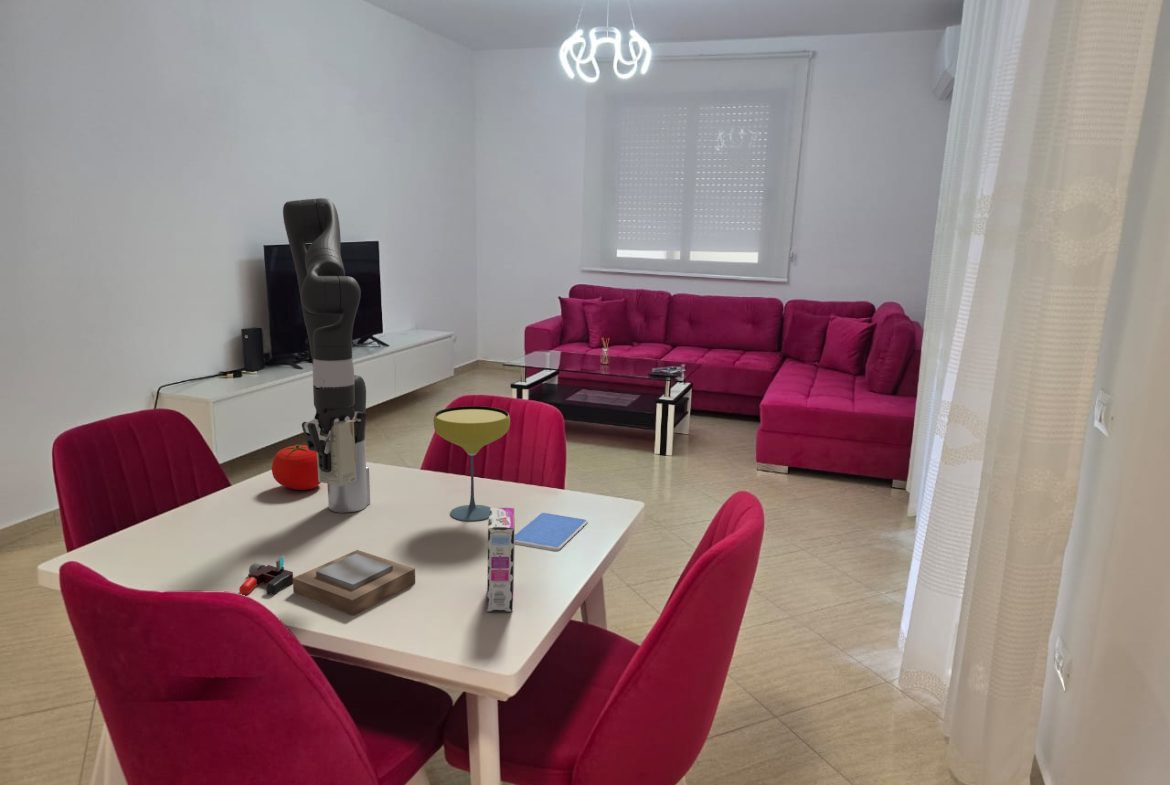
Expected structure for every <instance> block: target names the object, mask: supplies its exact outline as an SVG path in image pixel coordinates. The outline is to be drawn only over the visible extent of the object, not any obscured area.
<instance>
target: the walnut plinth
mask: <svg viewBox="0 0 1170 785" xmlns="http://www.w3.org/2000/svg"><path fill="white" fill-rule="evenodd" d="M414 584H416V568H414V567H411V566H409V565H406V564H403V563H399V562H396V561H393V560H390V559H386V558H383V557H381V556H378V555H375V554H371V553H367V552H365V551H362V550H359V549H356V550H353V551H351V552H349V553H346V554H344V555H342V556H340V557H337V558H335V559H332V560H331V561H328V562H326V563H324V564H321V565H319V566H317V567H315V568H313V569H310V570H308V571H306V572H305V571H304V572H303V573H301V574H299V575H297V576H293V584H292V587H293V588H292V589H293V590H292V591H293V594H295V595H299V596H301V597H304V598H306V599H308V600H312V601H314V602H317V603H319V604H322V605H324V606H328V607H329V608H332V609H335V610H338V611H341V612H343V613H345V614H348V615H350V616H355V615H357V614H359V613H361V612H363V611H365V610H366V609H368V608H370V607H372V606H374V605H376V604H378V603H379V602H382V601H384V600H385V599H387V598H389V597H391V596H393V595H395V594H396V593H398V592H401V591H403V590H405V589H406V588H408V587H410V586H412V585H414Z"/></svg>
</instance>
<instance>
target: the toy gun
mask: <svg viewBox="0 0 1170 785" xmlns="http://www.w3.org/2000/svg"><path fill="white" fill-rule="evenodd" d="M275 565H276V566H274V565H270V564H268V565H265V564H261V563H257V562H254V563H251V565H250V566H249V570H248V576H247V577H248V578H246V580H245V581H244V582H242V583H241V585H240V586H239V589H238V590H239V593H240V595H243V594H244V595H249V593H251V592H252V591H253V590H254V588H256V586H260V585H262V584H265V585H266V592H267V594H269V595H272V596H273V595H276V594H277V593H279V592H280V591H281V590H283V589H284V588H286V587H288V586H290V585H293V578H294V572H293V571H291V570H287V569H285V567H284V565H285V564H284V555H280V556H279V557H278V558H277V560H276V561H275Z"/></svg>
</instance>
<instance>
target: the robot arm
mask: <svg viewBox="0 0 1170 785" xmlns="http://www.w3.org/2000/svg"><path fill="white" fill-rule="evenodd" d="M282 216H283V224H284V227H285V232H286V236H287V240H288V244H289V248H290V251H291V255H292V260H293V264H294V268H295V272H296V279H297V285H298V290H299V296H300V303H301V309H302V313H303V314H302V315H303V320H304V324H305V328H306V332H307V338H308V342H309V348H310V353H311V354H310V355H311V361H312V387H313V388H312V389H313V390H312V391H313V392H312V393H313V394H312V396H313V406H314V408H315V415H314V418H313V419H312V420H310V421H303V422H302V423H301V429H302V432H303V436H304V438H305V442H306V446H308V449H309V450H310V451H315V452H318V459H319V468H320V469H321V471H323V472H326V473H327V472H330V471H331V453H329V452H330V447H331V443H332V442H333V440H334V438H333V427H334V424H336V423H339V421H350V420H352V421H354V438H355V458H356V478H357V480H356V481H354V482H351V483H348V484H346V485H343V486H339V485H333V484H327V501H328V510H330V511H332V512H335V513H343V514H344V513H353V512H358V511H359V512H360V511H361V510H364V509H365V508H367V506H368V505H370V504H371V485H370V484H371V483H370V482H371V481H370V479H371V478H370V467H369V466H367V461H366V460H367V456H366V455H367V454H366V426H367V425H366V424H367V412H366V411H367V410H366V409H367V408H366V407H367V387H366V382H365V380H364V379H363V377H362V376H360V375H357V374H355V366H354V362H353V331H354V326H355V325H354V324H355V319H356V315H357V313H358V308H359V306H360V301H361V293H362V291H361V287H360V285H359V283H358V281H357V280H356V279H355V278H354V277H352V276H346V270H345V267H344V263H343V259H342V255H341V245H342V244H341V240H342V239H341V226H340V220H339V214H338V210H337V208H336V205H335V204H334V202H333V201H332V200H331V199H329V198H321V197H319V198H306V199H298V200H296V199H295V200H289V201H286V202H285V203H284V204H283V207H282ZM306 244H307V245H309V244H310V245H309V246H308V248H307V247H306ZM317 426H319V429H318V428H317ZM318 430H319V431H318ZM317 431H318V432H317ZM322 432H323V433H324V434H328V436H327V437H325V436H323V435H322ZM324 441H325V444H324ZM323 446H324V447H323Z"/></svg>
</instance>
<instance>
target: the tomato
mask: <svg viewBox="0 0 1170 785" xmlns="http://www.w3.org/2000/svg"><path fill="white" fill-rule="evenodd" d="M271 474H272V478H273V479H274V480H275V481H276V482H277V483H278V484H280V486H283V487H285V488H287V489H291V490H296V491H306V490H307V491H308V490H311V489H314V488H317V487H318V486H319V485H320V484H321V483H322V482H319V481H318V464H317V452H315V451H310V450H309V449H308V446H307V445H304V444H302V445H301V444H295V445H291V446H287V447H284V448H281V449H280V450H279V451H277V453H276V454H275V455H274V456H273V459H272V464H271Z"/></svg>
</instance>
